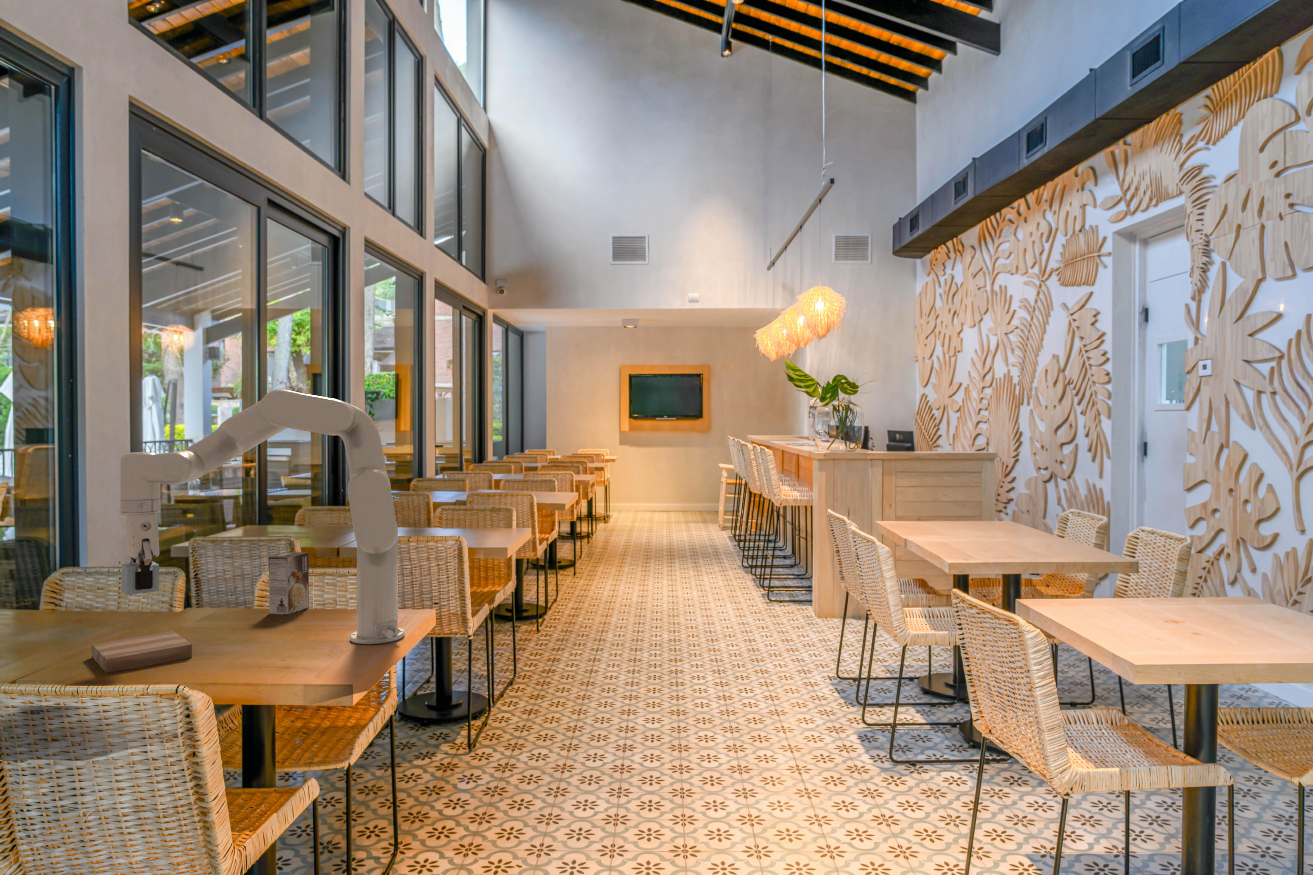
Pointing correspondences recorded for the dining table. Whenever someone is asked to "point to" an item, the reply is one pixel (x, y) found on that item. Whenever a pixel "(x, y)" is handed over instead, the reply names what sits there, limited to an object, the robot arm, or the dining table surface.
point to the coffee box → (288, 582)
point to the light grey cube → (129, 579)
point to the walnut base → (141, 651)
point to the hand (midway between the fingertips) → (140, 585)
